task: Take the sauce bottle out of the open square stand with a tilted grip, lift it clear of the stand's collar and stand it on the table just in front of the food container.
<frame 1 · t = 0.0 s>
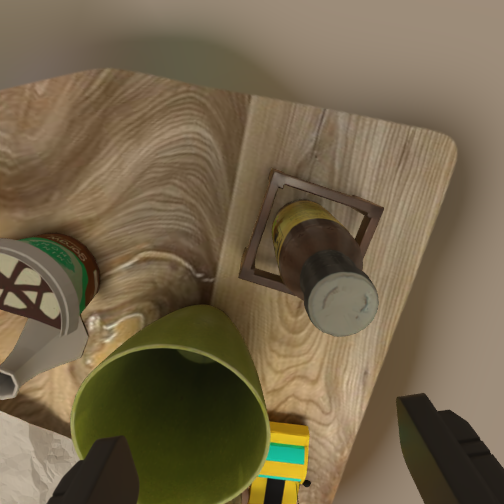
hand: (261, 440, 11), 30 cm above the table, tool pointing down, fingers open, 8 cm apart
toy car: (276, 451, 47), on the table, touching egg, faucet, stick
food container: (66, 251, 41), on the table
sauce bottle: (300, 228, 40), on the table
flask: (58, 332, 44), on the table
open square stand: (301, 228, 40), on the table
flower pot: (202, 334, 43), on the table
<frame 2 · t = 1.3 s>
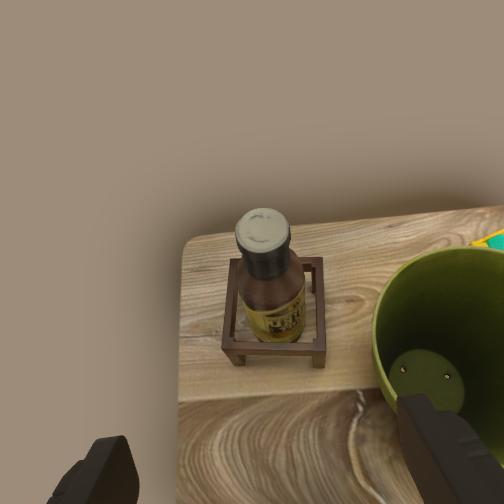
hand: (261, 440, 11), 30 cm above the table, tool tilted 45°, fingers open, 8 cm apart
sauce bottle: (279, 324, 44), on the table
open square stand: (279, 323, 44), on the table
flower pot: (426, 387, 39), on the table
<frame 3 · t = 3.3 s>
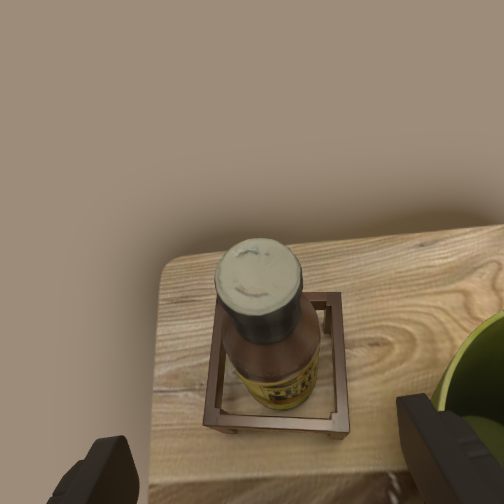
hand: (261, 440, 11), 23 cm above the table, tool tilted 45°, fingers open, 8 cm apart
sauce bottle: (282, 374, 34), on the table
open square stand: (282, 374, 34), on the table
flower pot: (484, 470, 28), on the table
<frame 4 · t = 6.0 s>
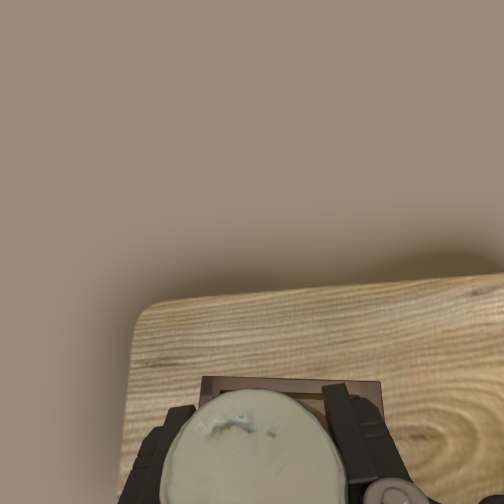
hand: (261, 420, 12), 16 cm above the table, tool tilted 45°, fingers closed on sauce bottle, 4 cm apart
sauce bottle: (293, 478, 25), on the table, touching gripper
open square stand: (293, 478, 25), on the table
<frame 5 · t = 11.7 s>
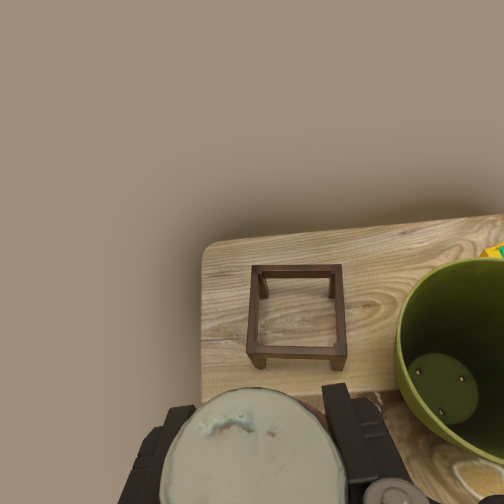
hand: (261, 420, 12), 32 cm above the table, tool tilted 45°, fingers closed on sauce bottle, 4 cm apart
sauce bottle: (294, 478, 25), point 16 cm above the table, touching gripper
open square stand: (298, 327, 46), on the table
flower pot: (441, 389, 40), on the table
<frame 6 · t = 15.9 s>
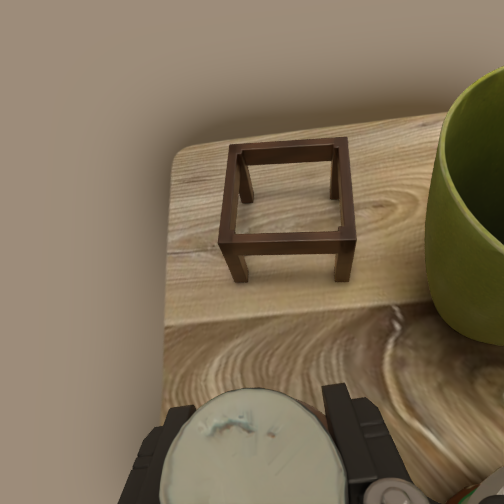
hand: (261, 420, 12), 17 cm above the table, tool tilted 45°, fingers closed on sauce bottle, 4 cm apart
sauce bottle: (294, 478, 25), point 1 cm above the table, touching gripper
open square stand: (290, 234, 35), on the table
flower pot: (482, 299, 30), on the table
when the fingers open (16 cm above the table, at t = 16.7 s): sauce bottle stays where it is, on the table.
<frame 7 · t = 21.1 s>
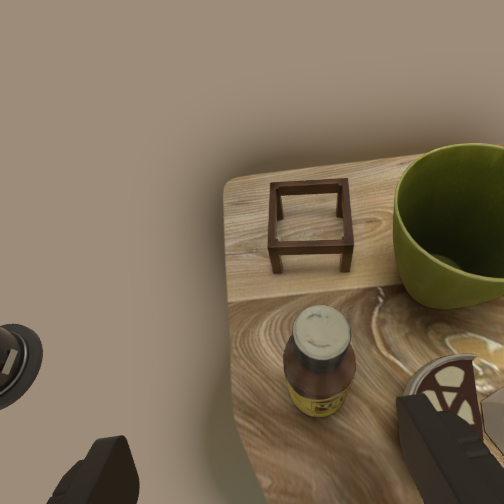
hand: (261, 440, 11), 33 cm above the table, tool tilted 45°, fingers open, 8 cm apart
food container: (416, 430, 39), on the table
sauce bottle: (317, 389, 43), on the table
open square stand: (310, 240, 52), on the table
flower pot: (435, 282, 47), on the table
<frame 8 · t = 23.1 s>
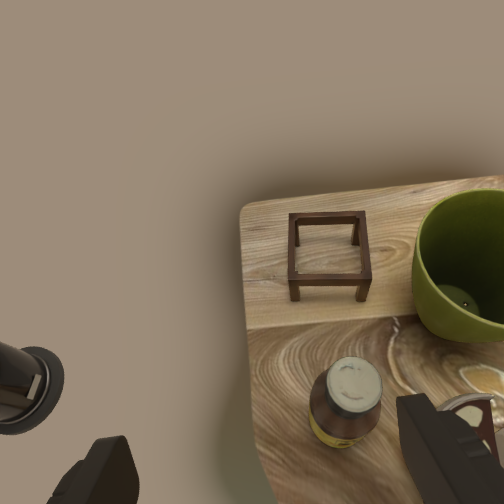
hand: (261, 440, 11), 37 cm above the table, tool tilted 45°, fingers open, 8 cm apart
food container: (432, 461, 41), on the table
sauce bottle: (336, 418, 44), on the table
open square stand: (326, 268, 54), on the table
flower pot: (449, 313, 48), on the table
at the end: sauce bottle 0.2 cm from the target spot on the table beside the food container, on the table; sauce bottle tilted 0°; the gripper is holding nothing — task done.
